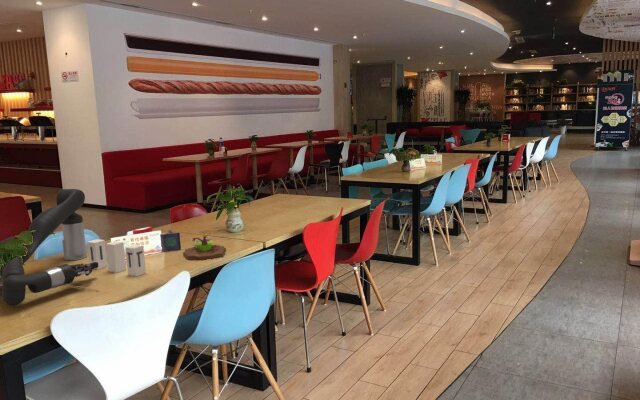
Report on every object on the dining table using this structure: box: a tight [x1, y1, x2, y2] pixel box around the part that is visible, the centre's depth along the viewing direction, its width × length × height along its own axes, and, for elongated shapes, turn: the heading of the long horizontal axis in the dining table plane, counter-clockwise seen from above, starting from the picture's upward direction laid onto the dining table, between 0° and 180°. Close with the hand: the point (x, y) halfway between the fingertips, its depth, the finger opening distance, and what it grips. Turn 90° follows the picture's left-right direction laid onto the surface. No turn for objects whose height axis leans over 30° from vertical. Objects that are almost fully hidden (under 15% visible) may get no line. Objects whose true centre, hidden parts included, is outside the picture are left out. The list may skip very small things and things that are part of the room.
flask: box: [159, 228, 182, 253], centre depth 257 cm, size 9×3×11 cm, turn 109°
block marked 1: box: [86, 238, 108, 270], centre depth 227 cm, size 5×5×12 cm
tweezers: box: [193, 237, 214, 245], centre depth 276 cm, size 17×5×2 cm, turn 156°
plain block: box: [105, 240, 127, 274], centre depth 221 cm, size 5×5×12 cm
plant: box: [182, 232, 227, 261], centre depth 247 cm, size 20×20×11 cm
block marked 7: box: [124, 244, 147, 277], centre depth 215 cm, size 5×5×12 cm
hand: (97, 264), depth 213 cm, fingers closed
